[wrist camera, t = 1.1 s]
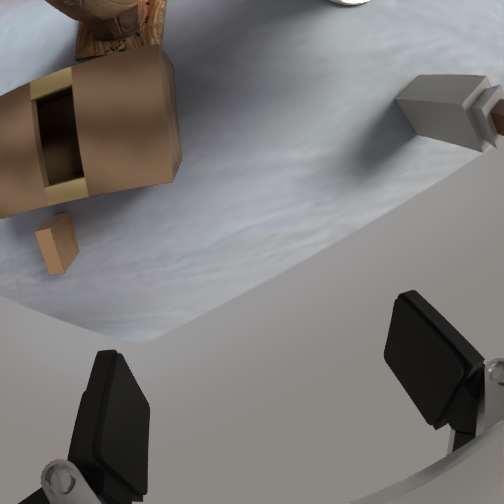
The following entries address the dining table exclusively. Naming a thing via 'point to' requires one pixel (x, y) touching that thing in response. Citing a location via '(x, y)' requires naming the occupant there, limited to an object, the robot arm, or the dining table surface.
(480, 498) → the robot arm
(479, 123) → the perfume bottle
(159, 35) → the bird sculpture
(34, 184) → the box
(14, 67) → the dining table surface
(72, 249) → the tan flat square block
